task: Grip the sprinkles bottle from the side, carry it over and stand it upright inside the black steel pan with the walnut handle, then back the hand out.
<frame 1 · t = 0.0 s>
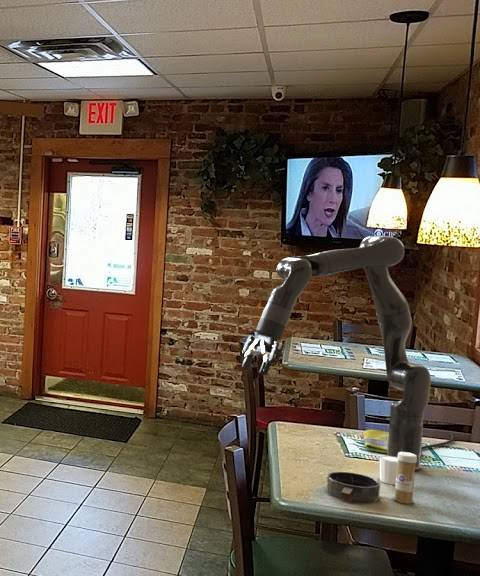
hand: (253, 371, 228), 31 cm above the table, tool tilted 20°, fingers open, 8 cm apart
pan handle: (346, 504, 208), on the table
white cup: (390, 482, 229), on the table
pan: (352, 494, 216), on the table
sprinkles bottle: (403, 502, 212), on the table
dish towel: (391, 446, 267), on the table
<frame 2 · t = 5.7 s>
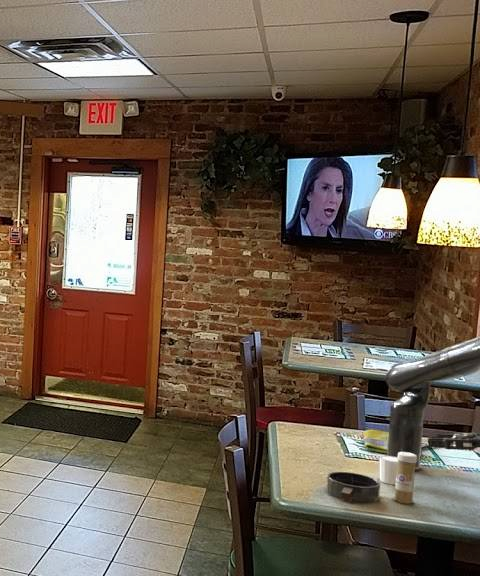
hand: (433, 440, 205), 19 cm above the table, tool horizontal, fingers open, 8 cm apart
nothing on the table moved.
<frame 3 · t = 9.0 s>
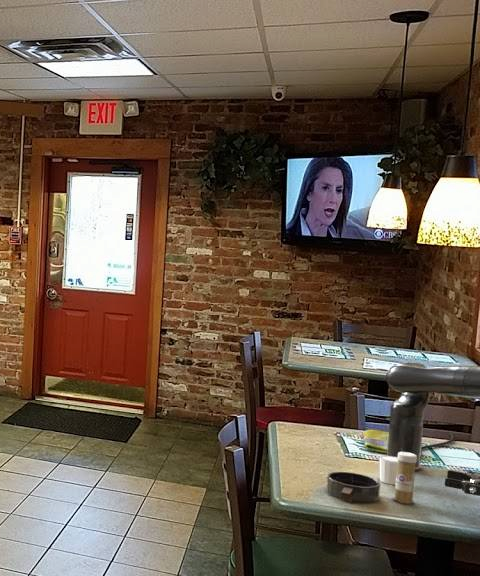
hand: (446, 477, 206), 9 cm above the table, tool horizontal, fingers open, 8 cm apart
nothing on the table moved.
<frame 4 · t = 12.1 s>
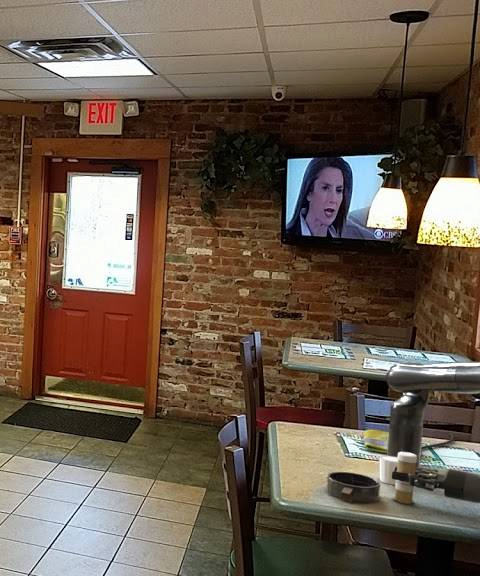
hand: (393, 472, 213), 8 cm above the table, tool horizontal, fingers closed on sprinkles bottle, 4 cm apart
sprinkles bottle: (403, 502, 212), on the table, touching gripper
everything else where it was.
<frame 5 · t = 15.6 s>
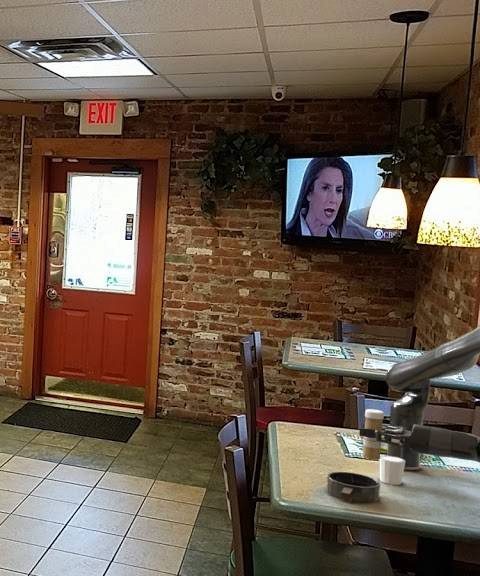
hand: (361, 429, 215), 19 cm above the table, tool horizontal, fingers closed on sprinkles bottle, 4 cm apart
sprinkles bottle: (371, 458, 214), point 11 cm above the table, touching gripper
everything else where it was.
when the fingers open (8 cm above the table, at t = 19.3 s): sprinkles bottle stays where it is, resting on pan.
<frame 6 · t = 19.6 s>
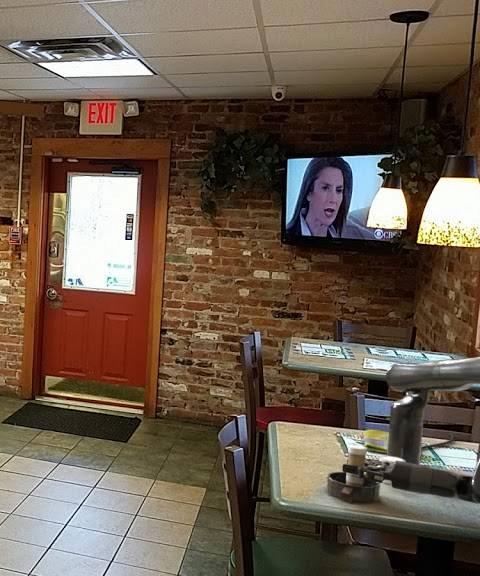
hand: (345, 464, 217), 8 cm above the table, tool horizontal, fingers open, 6 cm apart
sprinkles bottle: (353, 493, 216), resting on pan
everything else where it was.
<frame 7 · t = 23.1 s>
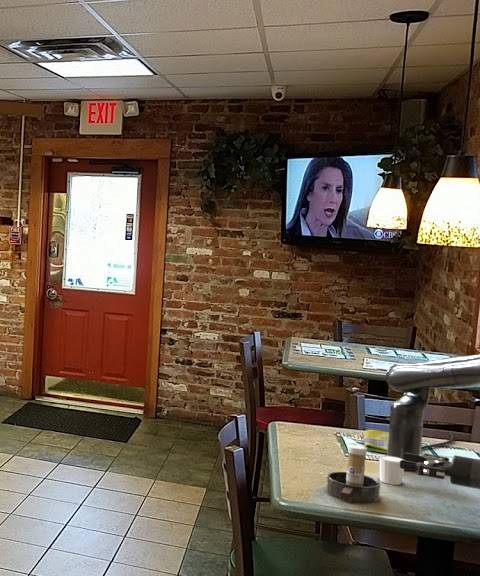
hand: (402, 460, 209), 12 cm above the table, tool horizontal, fingers open, 8 cm apart
nothing on the table moved.
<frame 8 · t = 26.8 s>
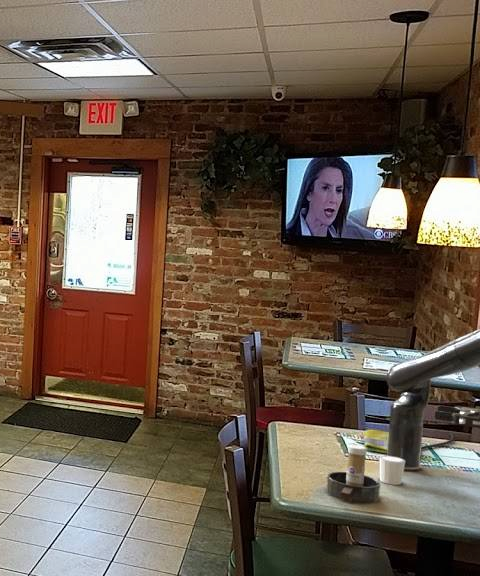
hand: (436, 412, 207), 26 cm above the table, tool horizontal, fingers open, 8 cm apart
nothing on the table moved.
at the end: sprinkles bottle inside the target area in the pan (0.4 cm from its centre), point 0.4 cm above the pan's base; sprinkles bottle tilted 0°; the gripper is holding nothing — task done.
